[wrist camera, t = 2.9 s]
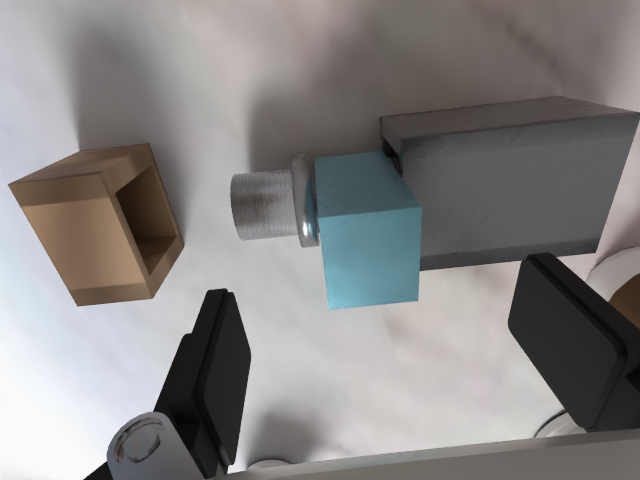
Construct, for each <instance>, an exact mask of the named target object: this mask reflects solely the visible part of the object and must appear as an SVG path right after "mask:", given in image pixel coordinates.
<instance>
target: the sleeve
mask: <svg viewBox="0 0 640 480" xmlns="http://www.w3.org/2000/svg"><path fill="white" fill-rule="evenodd" d="M639 120H640V113H639V112H634V111H629V110H624V109H620V108H615V107H610V106H605V105H600V104H595V103H590V102H585V101H580V100H575V99H570V98H565V97H560V96H559V97H550V98H542V99H533V100H524V101H515V102H507V103H498V104H489V105H480V106H472V107H463V108H454V109H446V110H437V111H428V112H419V113H411V114H402V115H393V116H385V117H380V126H381V151H383V152H384V154H385V155H386V157H387V158H388V157H397V156H400V176H401V178H402V179H403V181H404V182H405V183H406V185H407V186H408V188H409V189H410V191H411V192H412V193H413V195H414V196H415V198H416V199H417V200H418V202H419V203H420V205H421V206H422V221H421V244H420V268H419V271H425V270H435V269H444V268H454V267H464V266H473V265H483V264H493V263H502V262H512V261H522V260H524V259H526V257H527V256H528V255H529V254H535V253H544V252H549V253H551V254H553V255H554V256H555V257H560V256H570V255H580V254H589V253H596V250H597V247H598V244H599V241H600V238H601V235H602V232H603V229H604V226H605V223H606V220H607V217H608V214H609V211H610V208H611V205H612V202H613V199H614V196H615V193H616V190H617V187H618V184H619V181H620V178H621V175H622V172H623V169H624V166H625V163H626V160H627V157H628V154H629V150H630V147H631V144H632V141H633V138H634V135H635V132H636V129H637V126H638V123H639Z"/></svg>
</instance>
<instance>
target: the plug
mask: <svg viewBox="0 0 640 480" xmlns="http://www.w3.org/2000/svg"><path fill="white" fill-rule="evenodd" d="M231 207H232V214H233V219H234V223H235V227H236V230H237V232H238V235H239V237H240V238H241V239H242V240H243V241H245V240H255V239H264V238H273V237H283V236H292V235H299V239H300V243H301V246H302V248H305V247H314V246H319V233H320V238H321V246H322V254H323V263H324V271H325V280H326V288H327V296H328V305H329V310H333V309H343V308H353V307H363V306H372V305H382V304H392V303H402V302H412V301H418V292H419V268H420V244H421V221H422V206H421V205H420V203H419V202H418V200H417V199H416V198H415V196H414V195H413V193H412V192H411V191H410V189H409V188H408V186H407V185H406V183H405V182H404V181H403V179H402V178H401V176H400V156H397V157H388V158H387V157H386V155H385V154H384V152H383V151H373V152H364V153H355V154H346V155H338V156H329V157H320V158H315V166H311V161H310V155H309V152H306V153H297V154H291V168H289V169H280V170H271V171H262V172H253V173H244V174H235V175H234V176H233V177H232V181H231Z"/></svg>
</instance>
